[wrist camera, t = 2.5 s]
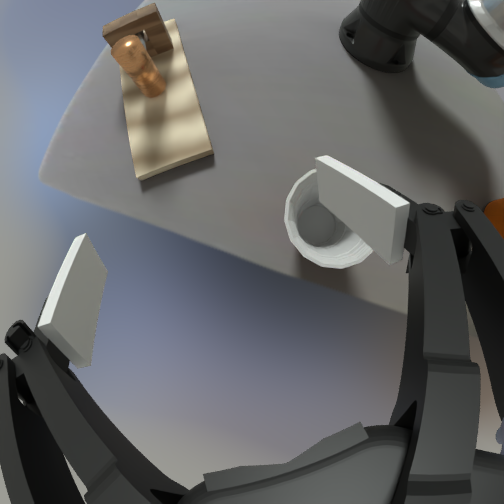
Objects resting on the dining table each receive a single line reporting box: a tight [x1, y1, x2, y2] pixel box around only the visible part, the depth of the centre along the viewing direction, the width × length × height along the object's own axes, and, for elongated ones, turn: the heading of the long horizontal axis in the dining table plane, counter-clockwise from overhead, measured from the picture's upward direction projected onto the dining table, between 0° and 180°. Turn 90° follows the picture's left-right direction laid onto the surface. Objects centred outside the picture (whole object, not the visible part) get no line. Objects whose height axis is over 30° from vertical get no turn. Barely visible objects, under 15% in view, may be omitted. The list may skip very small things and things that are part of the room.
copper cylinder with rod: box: [111, 10, 166, 98], centre depth 30 cm, size 19×4×12 cm, turn 17°
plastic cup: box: [284, 169, 374, 269], centre depth 33 cm, size 11×11×12 cm
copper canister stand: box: [103, 3, 214, 180], centre depth 33 cm, size 32×12×12 cm, turn 17°
